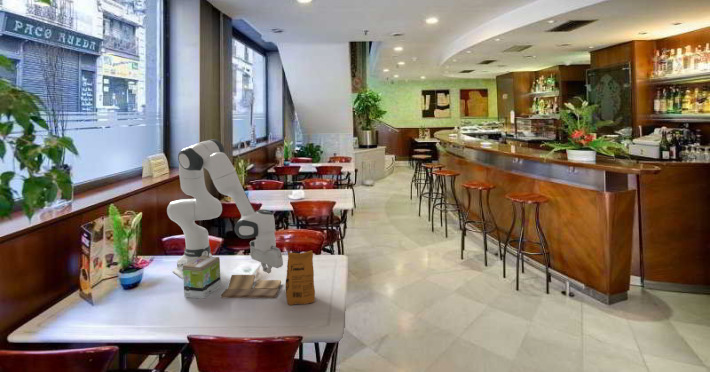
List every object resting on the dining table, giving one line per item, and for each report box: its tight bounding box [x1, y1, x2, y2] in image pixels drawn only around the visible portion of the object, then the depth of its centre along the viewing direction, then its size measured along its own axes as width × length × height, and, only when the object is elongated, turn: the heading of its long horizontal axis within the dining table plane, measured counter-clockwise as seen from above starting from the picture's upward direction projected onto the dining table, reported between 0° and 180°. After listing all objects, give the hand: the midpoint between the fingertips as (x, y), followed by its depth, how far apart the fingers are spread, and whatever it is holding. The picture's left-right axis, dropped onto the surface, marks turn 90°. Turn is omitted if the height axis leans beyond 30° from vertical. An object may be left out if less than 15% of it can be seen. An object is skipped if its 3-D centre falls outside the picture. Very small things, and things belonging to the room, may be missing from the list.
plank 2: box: [253, 279, 282, 290], centre depth 197 cm, size 11×8×1 cm
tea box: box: [182, 256, 222, 299], centre depth 192 cm, size 15×10×15 cm, turn 168°
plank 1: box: [227, 274, 256, 289], centre depth 196 cm, size 11×8×1 cm
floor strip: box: [220, 288, 279, 299], centre depth 189 cm, size 24×7×1 cm, turn 88°
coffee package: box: [285, 250, 316, 306], centre depth 181 cm, size 10×12×22 cm
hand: (267, 272), depth 200 cm, fingers closed
